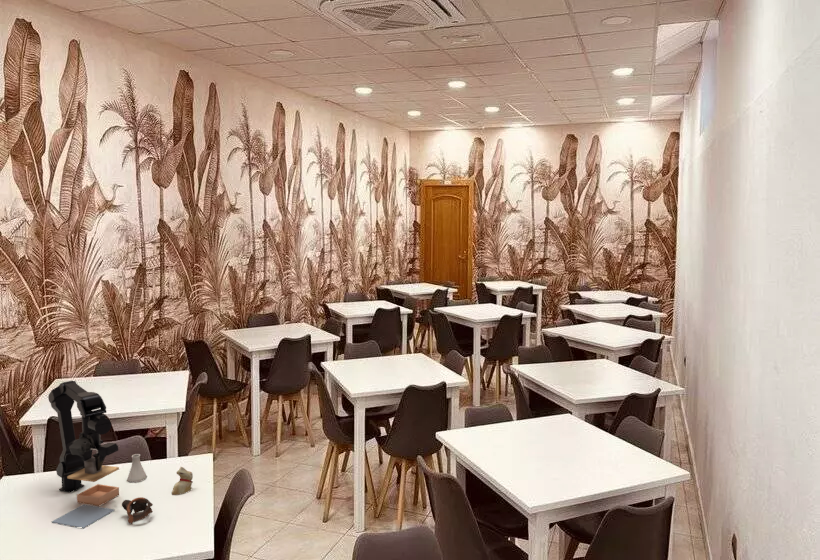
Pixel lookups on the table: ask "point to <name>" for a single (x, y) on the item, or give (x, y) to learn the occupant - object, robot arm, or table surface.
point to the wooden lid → (92, 471)
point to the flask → (136, 470)
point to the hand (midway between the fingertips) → (93, 469)
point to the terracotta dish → (97, 495)
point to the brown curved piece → (137, 508)
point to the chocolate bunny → (183, 482)
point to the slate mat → (83, 516)
